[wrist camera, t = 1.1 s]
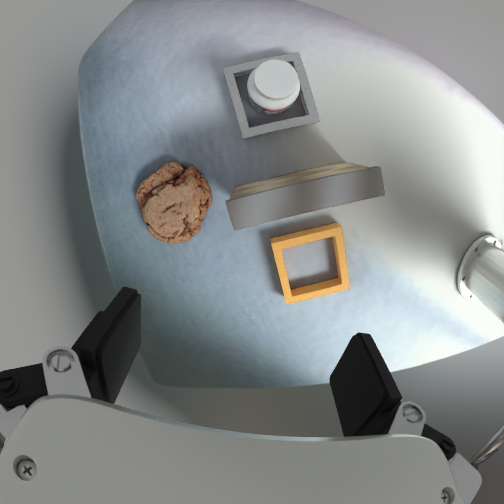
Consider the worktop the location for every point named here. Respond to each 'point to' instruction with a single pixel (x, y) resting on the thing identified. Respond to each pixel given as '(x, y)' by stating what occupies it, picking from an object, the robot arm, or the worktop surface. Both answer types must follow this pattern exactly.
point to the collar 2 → (306, 237)
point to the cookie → (174, 202)
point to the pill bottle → (273, 87)
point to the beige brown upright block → (303, 193)
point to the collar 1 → (248, 132)
